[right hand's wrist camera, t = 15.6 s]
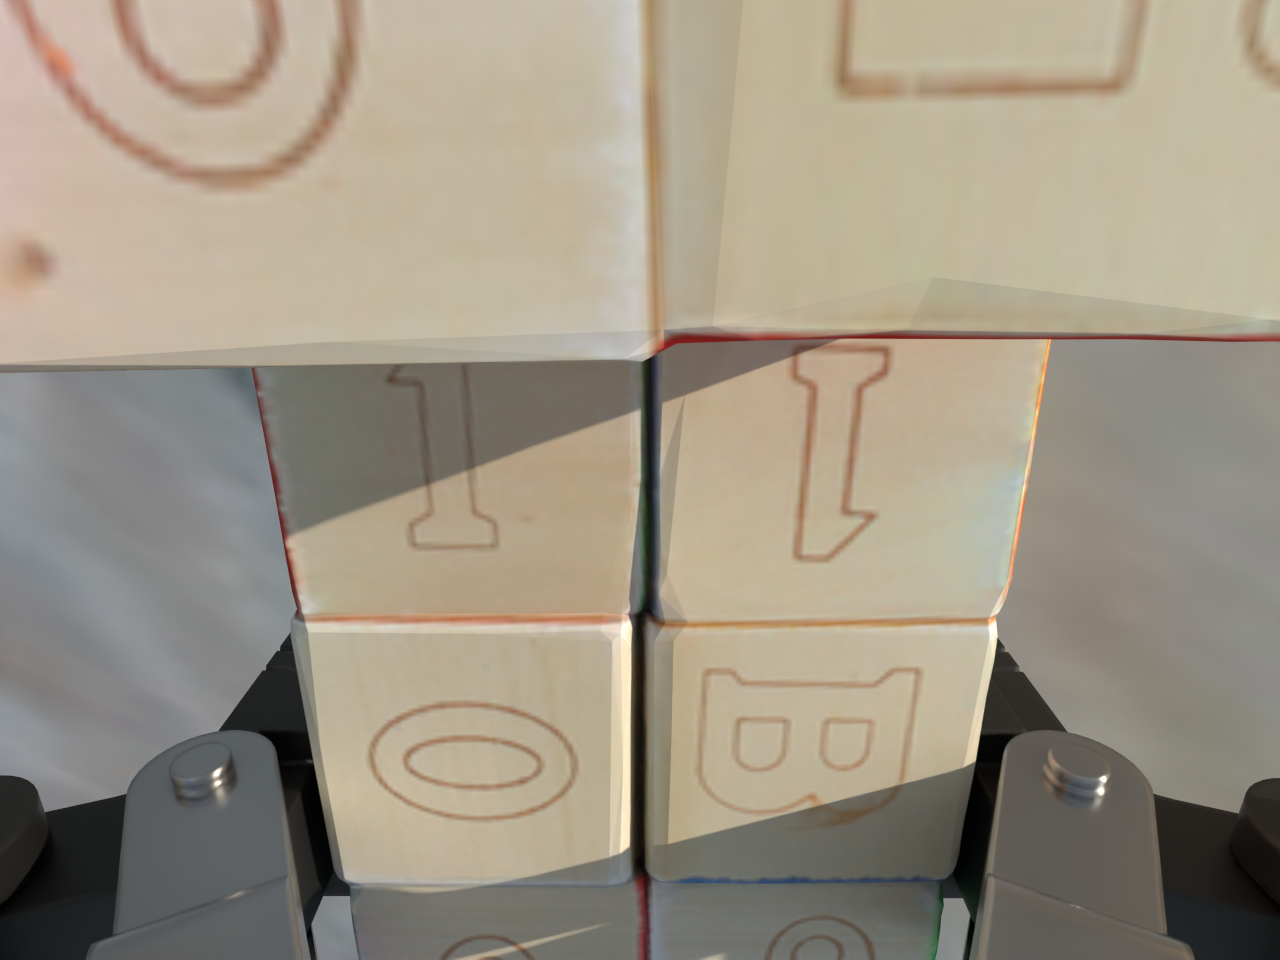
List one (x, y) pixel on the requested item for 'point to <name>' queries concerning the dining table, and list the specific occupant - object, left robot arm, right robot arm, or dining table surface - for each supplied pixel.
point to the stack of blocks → (639, 400)
